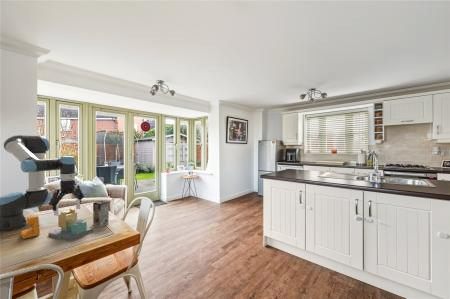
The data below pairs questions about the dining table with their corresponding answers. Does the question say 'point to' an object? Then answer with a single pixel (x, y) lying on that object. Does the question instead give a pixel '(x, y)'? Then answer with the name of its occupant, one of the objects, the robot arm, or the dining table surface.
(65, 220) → the sleeve
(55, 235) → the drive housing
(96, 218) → the coffee box
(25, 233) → the bracket
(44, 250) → the dining table surface
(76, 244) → the dining table surface
